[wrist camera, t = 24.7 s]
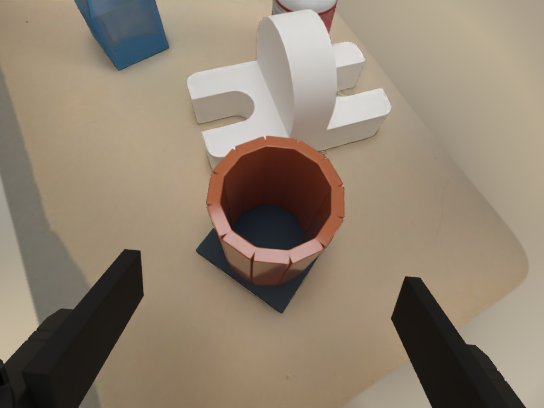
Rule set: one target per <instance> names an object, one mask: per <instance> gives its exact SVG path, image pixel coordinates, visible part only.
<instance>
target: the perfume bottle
mask: <svg viewBox="0 0 544 408" xmlns="http://www.w3.org/2000/svg"><path fill="white" fill-rule="evenodd" d="M74 1H75V3H76V5H77V6H78V8H79V10H80V12H81V14H82V16H83V17H84V19H85V21H86V23H87V25H88V27H89V29H90V30H91V32H92V34H93V36H94V37H95V39H96V40H97V41H98V43H99V44H100V46H101V47H102V48H103V50H104V51H105V53H106V54H107V55H108V57H109V58H110V60H111V61H112V62H113V64H114V65H115V66H116V68H117V69H118V71H119V70H121V69H123V68H126V67H128V66H130V65H132V64H135V63H137V62H139V61H141V60H143V59H146V58H148V57H150V56H152V55H154V54H157V53H159V52H161V51H163V50H166V49H168V48H169V46H168V42H167V39H166V35H165V32H164V29H163V25H162V22H161V18H160V15H159V11H158V8H157V5H156V1H155V0H74Z"/></svg>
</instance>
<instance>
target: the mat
mask: <svg viewBox="0 0 544 408" xmlns="http://www.w3.org/2000/svg"><path fill="white" fill-rule="evenodd" d="M232 230H233V231H234V232H236V233H237V234H239V235H240V236H241V237H243V238H244V239H246V240H247V241H249V242H250V243H251V244H253V245H254V246H256V247H259V248H270V249H280V250H290V249H292V248H294V247H296V246H298V245H301V244H303V243H304V232H303V230H302V228H301V226H300V224H299V222H298V220H297V218H296V216H294V215H293V214H291V213H290V212H288V211H287V210H285V209H284V208H282V207H281V206H274V205H264V204H261V205H258V206H256V207H253V208H251V209H249V210H246V211H244V212H243V214H242V215H241V216H240V217H239V219H238V220H237V221H236V222H235V224H234V225H233V228H232ZM196 251H197V252H198V253H199V254H200V255H202V256H203V257H205V258H206V259H207V260H209V261H210V262H211V263H213V264H214V265H215V266H217V267H218V268H220V269H221V270H222V271H224V272H225V273H226V274H228V275H229V276H231V277H232V278H233V279H235V280H236V281H237V282H239V283H240V284H241V285H243V286H244V287H246V288H247V289H248V290H250V291H251V292H252V293H254V294H255V295H257V296H258V297H259V298H261V299H262V300H263V301H265V302H266V303H268V304H269V305H270V306H272V307H273V308H274V309H276V310H277V311H278V312H280V313H283V311H284V310H285V308H286V306H287V305H288V303H289V302H290V300H291V299H292V297H293V295H294V294H295V292H296V291H297V289H298V288H299V286H300V284H301V283H302V281H303V280H304V278H305V277H306V275H307V273H308V272H309V270H310V269H311V267H312V266H313V264H314V262H315V261H316V259H317V258H318V256H319V255H320V254H319V255H318V256H317V257H316V258H315V259H314V260H313V261H312V262H311V263H310V264H309V265H308V266H307V267H306V268H305V269H304V270H303V271H302V272H301V273H300V274H299V275H298V276H297V277H295V278H293V279H291V280H289V281H287V282H284V283H282V284H280V285H278V286H277V284H276V286H267V285H256V284H252V281H251V283H249V282H247V281H246V280H245V279H243V278H242V277H241V276H239V275H238V274H236V273H235V272H234V271H232V269H231V268H230V267H229V265H228V262H227V260H226V258H225V255H224V253H223V251H222V248H221V246H220V243H219V240H218V237H217V235H216V232H215V229H214V228H213V229H212V231H211V232H210V233H209V234H208V236H207V237H206V238H205V239H204V241H203V242H202V243H201V244H200V245H199V247H198V248H197V249H196Z"/></svg>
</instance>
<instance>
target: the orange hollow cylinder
mask: <svg viewBox="0 0 544 408" xmlns="http://www.w3.org/2000/svg"><path fill="white" fill-rule="evenodd" d="M213 173H214V174H211V178H210V183H209V189H208V195H207V201H206V204H207V210H208V213H209V216H210V218H211V221H212V224H213V227H214V229H215V232H216V235H217V237H218V240H219V243H220V246H221V248H222V251H223V253H224V255H225V258H226V260H227V262H228V265H229V267H230V268H231V269H232V271H234V272H235V273H236V274H238V275H239V276H241V277H242V278H243V279H245V280H246V281H247V282H249V283H251V281H252V284H256V285H267V286H276V284H277V286H278V285H280V284H282V283H284V282H287V281H289V280H291V279H293V278H295V277H297V276H298V275H299V274H300V273H301V272H302V271H303V270H304V269H305V268H306V267H307V266H308V265H309V264H310V263H311V262H312V261H313V260H314V259H315V258H316V257H317V256H318V255H319V254H320V253H321V252H322V251H323V250H324V249H325V248H326V247H327V246H328V244H329V243H330V241H331V240H332V238H333V236H334V235H335V233H336V232H337V230H338V229H339V227H340V225H341V224H342V222H343V220H342V219H343V218H344V187H341V186H342V185H343V183H342V181H341V179H340V178H339V176H338V174H337V173H336V171H335V169H334V168H333V166H332V164H331V163H330V161H329V159H328V158H327V159H325V155H323V154H322V153H320V152H318V151H317V150H315V149H313V148H312V147H310V146H309V145H307V144H305V143H304V142H302V141H298V143H297V139H294V138H285V137H275V136H266V140H265V138H264V137H263V136H262V137H259V138H257V139H254V140H251V141H248V142H246V143H243V144H240V145H238V146H235V150H234V149H231V150H230V152H229V153H228V154H227V155H226V156H225V157H224V158H223V160H222V161H221V162H220V163H219V164H218V165H217V166H216V168H215V169H214V170H213ZM261 204H264V205H274V206H281V207H282V208H284V209H285V210H287V211H288V212H290V213H291V214H293V215H294V216H296V218H297V220H298V222H299V224H300V226H301V228H302V230H303V232H304V243H303V244H301V245H298V246H296V247H294V248H292V249H290V250H280V249H270V248H259V247H256V246H254V245H253V244H251V243H250V242H249V241H247V240H246V239H244V238H243V237H241V236H240V235H239V234H237V233H236V232H234V231H233V230H232V228H233V225H234V224H235V222H236V221H237V220H238V219H239V217H240V216H241V215H242V214H243V212H244V211H246V210H249V209H251V208H253V207H256V206H258V205H261Z"/></svg>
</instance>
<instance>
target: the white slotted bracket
mask: <svg viewBox="0 0 544 408" xmlns="http://www.w3.org/2000/svg"><path fill="white" fill-rule="evenodd" d="M365 62H366V60H365V58H364V57H363V55H362V53H361V51H360V50H359V48H358V47H357V46H356V45H355V44H353V43H351V42H342V43H337V44H332V43H331V40H330V36H329V34H328V31H327V29H326V27H325V24H324V22H323V21H322V20H321V18H320V17H319V15H318V14H317V13H316V12H314V11H313V10H311V9H305V10H299V11H294V12H288V13H283V14H277V15H272V16H266V17H263V18H262V19H261V21H260V23H259V27H258V34H257V58H256V60H255V61H250V62H245V63H241V64H236V65H231V66H226V67H221V68H216V69H212V70H207V71H202V72H197V73H194V74H192V75H191V76H189V78H188V79H187V86H188V90H189V93H190V97H191V101H192V105H193V109H194V112H195V116H196V119H197V122H198V124H201V123H205V122H209V121H213V120H218V119H222V118H226V117H230V116H242V117H245V118H247V120H245V121H242V122H239V123H235V124H231V125H227V126H223V127H218V128H214V129H210V130H206V131H202V135H203V139H204V143H205V147H206V151H207V155H208V158H209V161H210V164H211V168H212V170H214V169H215V168H216V166H217V165H218V164H219V163H220V162H221V161H222V160H223V158H224V157H225V156H226V155H227V154H228V153H229V152H230V150H231V149H234V150H235V146H238V145H240V144H243V143H246V142H248V141H251V140H254V139H257V138H259V137H262V136H263V137H264V138H265V140H266V136H275V137H285V138H294V139H297V143H298V141H302V142H304V143H305V144H307V145H309V146H310V147H312V148H313V149H315V150H317V151H321V150H325V149H329V148H332V147H336V146H340V145H343V144H347V143H351V142H354V141H358V140H362V139H365V138H369V137H372V136H374V135H375V133H376V132H377V130H378V129H379V127H380V126H381V124H382V123H383V121H384V119H385V118H386V116H387V115H388V113H389V112H390V110H391V104H390V102H389V100H388V98H387V97H386V95H385V93H384V91H383V90H382V88H380V89H376V90H371V91H367V92H363V93H359V94H355V95H351V96H345V97H343V96H337V91H340V90H344V89H348V88H353V87H355V85H356V83H357V81H358V78H359V76H360V74H361V71H362V69H363V67H364V65H365Z"/></svg>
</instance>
